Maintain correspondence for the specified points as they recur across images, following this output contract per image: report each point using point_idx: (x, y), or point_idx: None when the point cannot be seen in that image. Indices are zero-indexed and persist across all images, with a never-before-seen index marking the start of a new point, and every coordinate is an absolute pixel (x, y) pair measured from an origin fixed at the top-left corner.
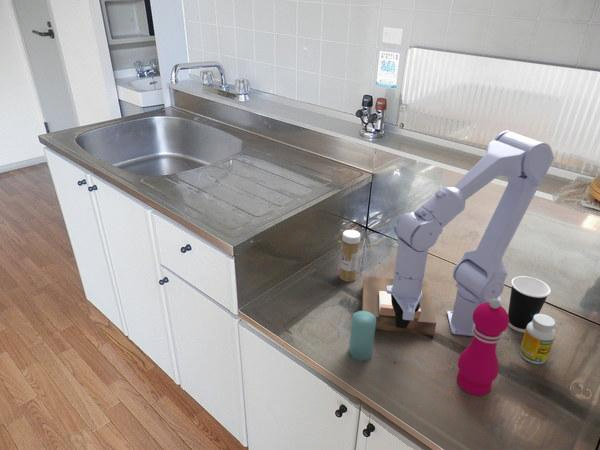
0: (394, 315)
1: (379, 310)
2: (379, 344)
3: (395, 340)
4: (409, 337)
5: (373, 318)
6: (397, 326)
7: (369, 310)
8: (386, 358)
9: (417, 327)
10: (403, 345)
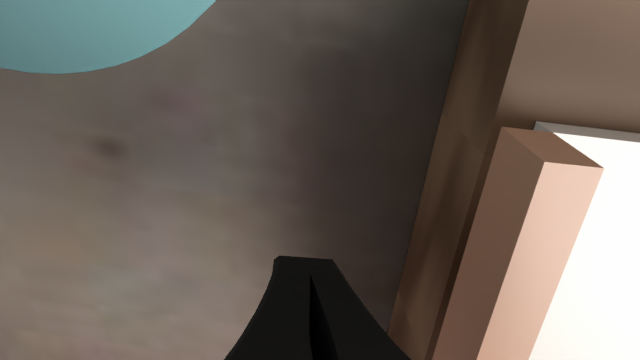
0: (468, 253)
1: (581, 129)
2: (285, 68)
3: (331, 184)
4: (360, 269)
5: (49, 24)
6: (273, 268)
7: (608, 31)
8: (139, 99)
9: (404, 345)
10: (284, 225)
